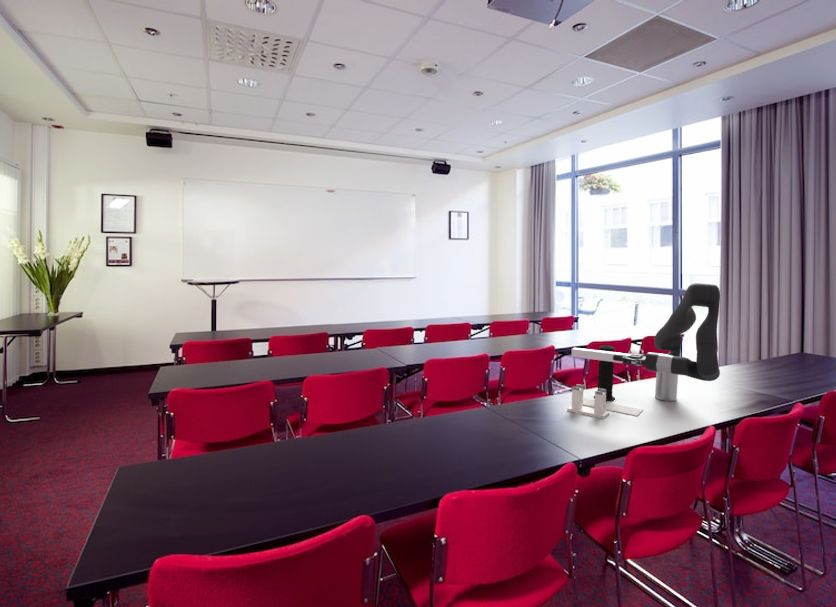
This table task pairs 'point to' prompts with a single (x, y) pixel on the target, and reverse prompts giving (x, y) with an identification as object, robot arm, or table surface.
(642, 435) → the table surface
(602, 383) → the handle grip
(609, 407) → the mat
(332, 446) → the table surface
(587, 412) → the rack
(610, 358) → the rail
